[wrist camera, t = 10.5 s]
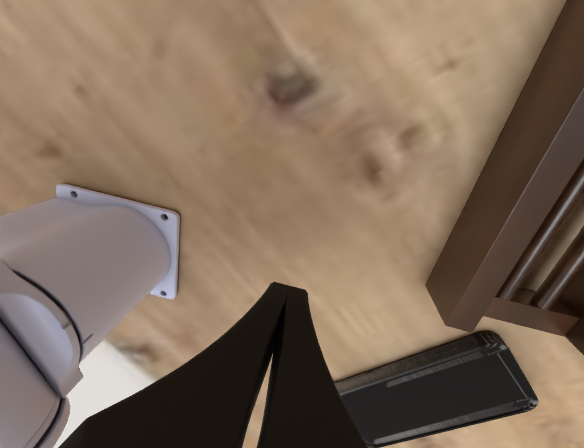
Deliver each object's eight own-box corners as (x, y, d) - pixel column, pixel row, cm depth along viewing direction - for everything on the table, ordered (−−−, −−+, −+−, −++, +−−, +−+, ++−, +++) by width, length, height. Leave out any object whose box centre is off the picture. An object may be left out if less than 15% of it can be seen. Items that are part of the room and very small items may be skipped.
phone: (543, 407, 21) (367, 450, 26) (533, 393, 22) (366, 437, 27) (502, 337, 19) (321, 398, 24) (494, 326, 20) (321, 386, 25)
